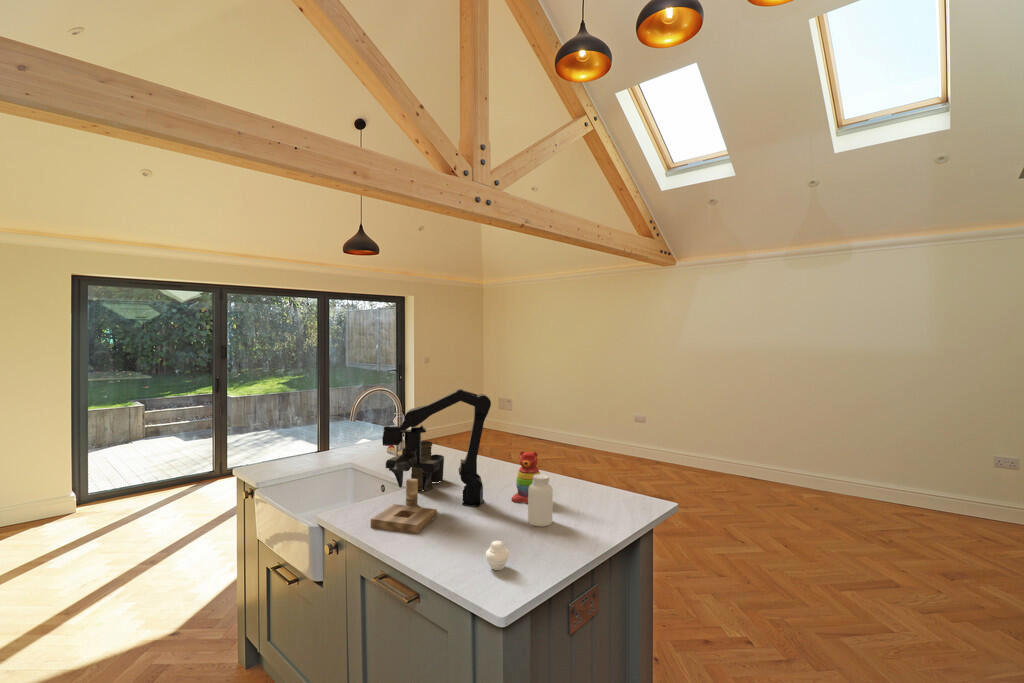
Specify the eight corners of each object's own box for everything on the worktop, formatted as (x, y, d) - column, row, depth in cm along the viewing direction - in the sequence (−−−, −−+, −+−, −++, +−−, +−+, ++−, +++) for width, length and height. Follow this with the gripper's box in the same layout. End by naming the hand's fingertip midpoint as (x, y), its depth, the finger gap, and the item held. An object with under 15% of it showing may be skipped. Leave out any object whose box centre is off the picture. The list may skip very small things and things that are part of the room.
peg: (419, 504, 165) (419, 479, 165) (414, 508, 161) (414, 482, 161) (409, 503, 166) (409, 478, 166) (403, 506, 162) (404, 481, 163)
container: (427, 492, 178) (428, 445, 179) (406, 490, 180) (406, 444, 180) (436, 485, 187) (436, 441, 187) (415, 483, 189) (415, 439, 189)
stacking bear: (509, 501, 169) (510, 453, 169) (519, 493, 178) (520, 447, 178) (537, 506, 165) (538, 456, 165) (546, 497, 174) (546, 450, 174)
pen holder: (441, 484, 189) (442, 460, 189) (418, 484, 189) (419, 459, 189) (445, 477, 198) (445, 454, 198) (423, 477, 198) (423, 454, 198)
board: (436, 516, 154) (436, 509, 154) (416, 533, 140) (416, 525, 140) (393, 511, 158) (394, 504, 158) (370, 526, 145) (370, 518, 145)
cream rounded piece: (493, 576, 115) (494, 548, 115) (480, 566, 120) (481, 539, 120) (513, 569, 119) (514, 542, 119) (500, 560, 124) (500, 533, 124)
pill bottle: (554, 519, 152) (555, 474, 152) (548, 528, 145) (549, 481, 145) (531, 516, 155) (532, 471, 155) (524, 525, 147) (525, 478, 147)
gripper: (377, 447, 159) (376, 493, 159) (426, 451, 154) (425, 498, 154) (394, 441, 170) (393, 483, 169) (440, 444, 164) (440, 488, 164)
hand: (412, 488), depth 164 cm, fingers open, 9 cm apart
